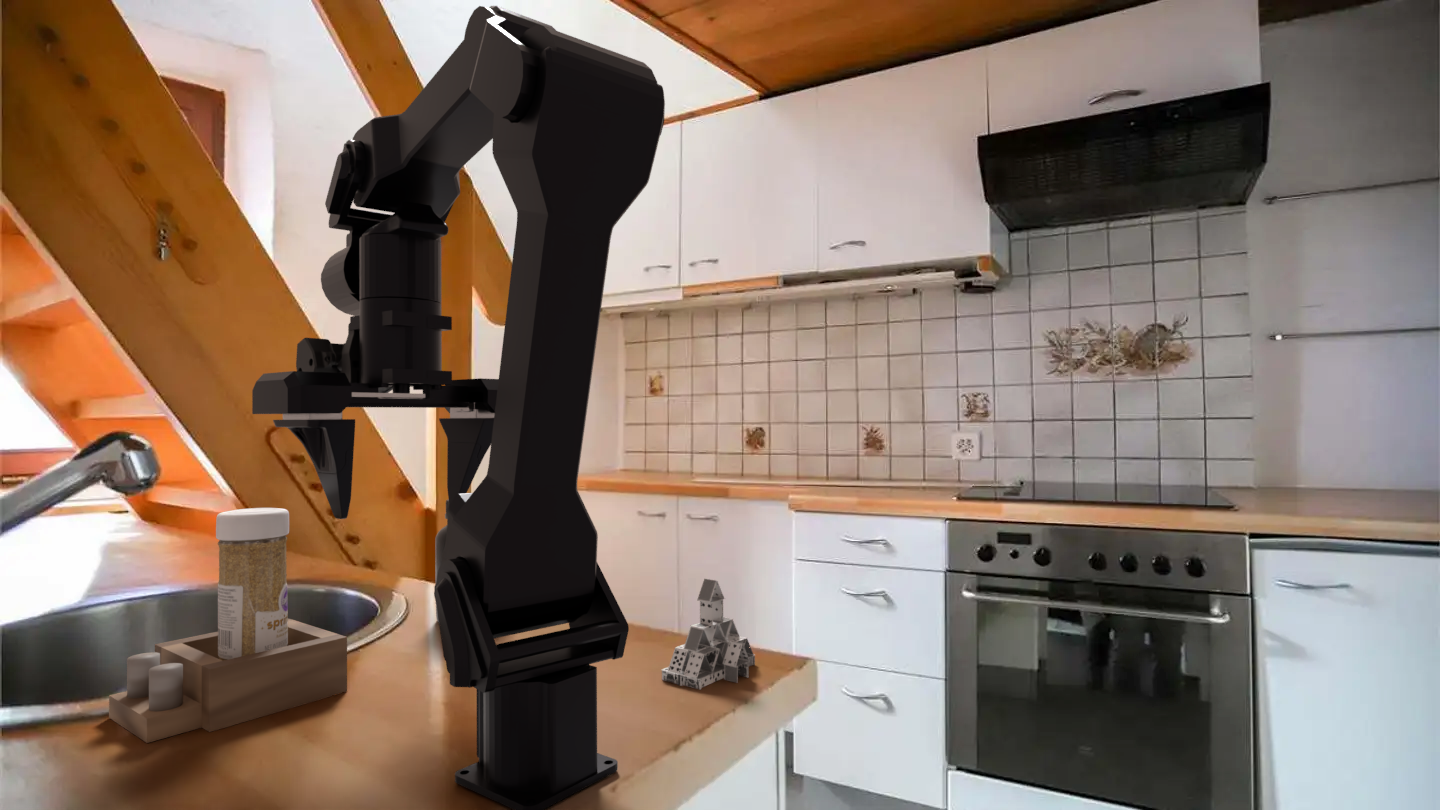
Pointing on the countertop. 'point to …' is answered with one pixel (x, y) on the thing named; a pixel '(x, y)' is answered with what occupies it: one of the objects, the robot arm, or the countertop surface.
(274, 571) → the sprinkles bottle
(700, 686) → the house of cards
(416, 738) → the countertop surface
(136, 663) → the slot block
